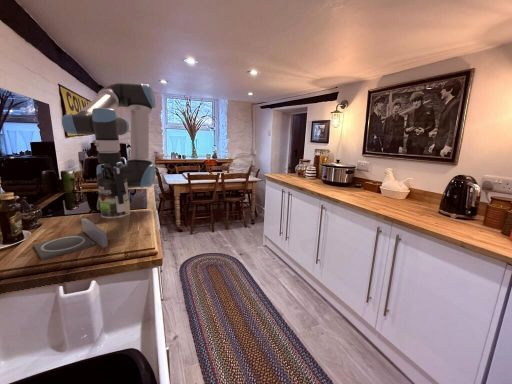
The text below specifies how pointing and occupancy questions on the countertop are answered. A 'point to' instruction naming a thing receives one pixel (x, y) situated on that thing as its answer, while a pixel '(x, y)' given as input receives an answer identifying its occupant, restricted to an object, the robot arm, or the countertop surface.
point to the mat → (62, 245)
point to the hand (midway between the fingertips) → (115, 208)
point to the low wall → (94, 232)
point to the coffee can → (111, 199)
